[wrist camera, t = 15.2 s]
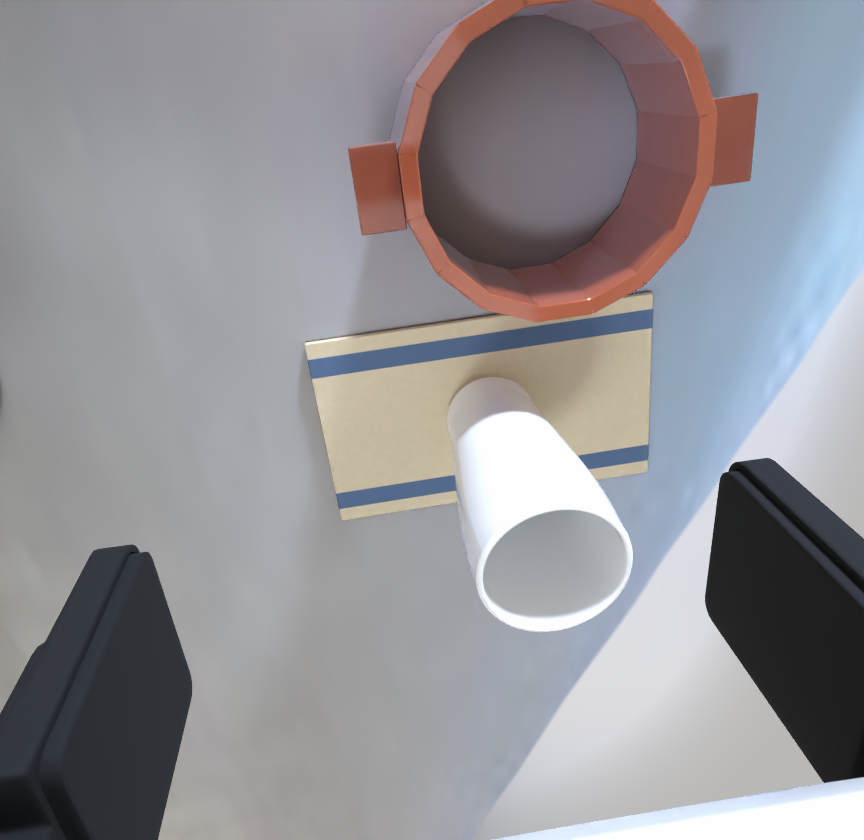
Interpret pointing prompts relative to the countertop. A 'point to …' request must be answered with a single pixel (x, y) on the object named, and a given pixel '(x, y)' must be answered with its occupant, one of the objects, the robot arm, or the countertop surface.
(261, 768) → the countertop surface
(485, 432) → the drinking glass
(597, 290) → the cooking pot
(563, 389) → the tea towel
